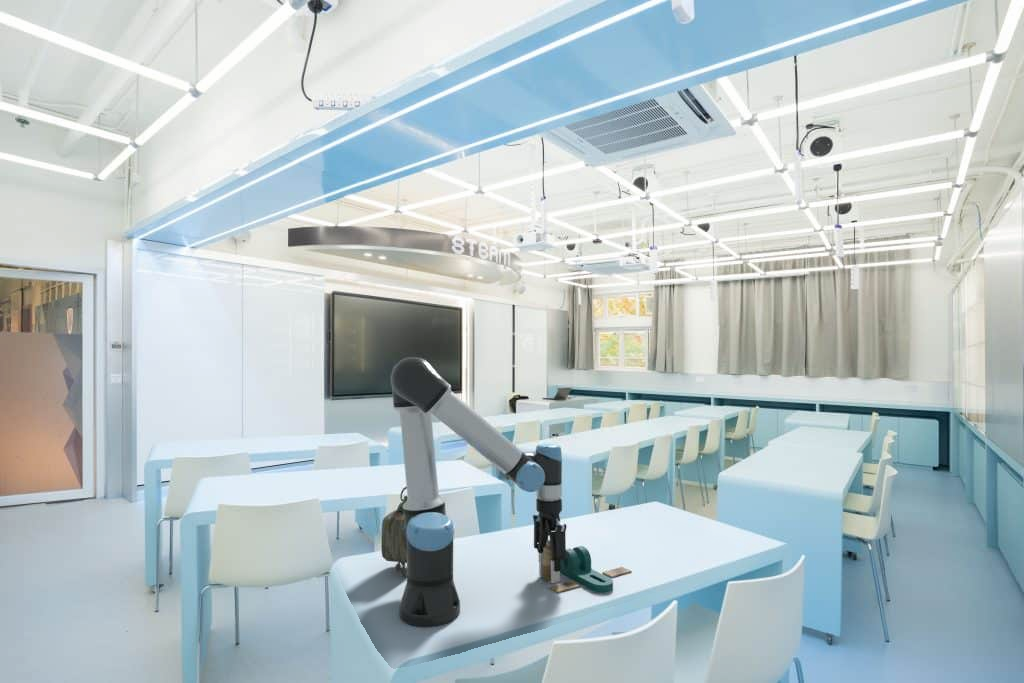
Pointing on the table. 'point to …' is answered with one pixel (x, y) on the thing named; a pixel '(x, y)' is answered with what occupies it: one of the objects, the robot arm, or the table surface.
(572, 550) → the bracket
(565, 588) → the wooden slat
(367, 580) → the table surface
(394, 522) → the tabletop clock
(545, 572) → the tan cylinder gray tip
